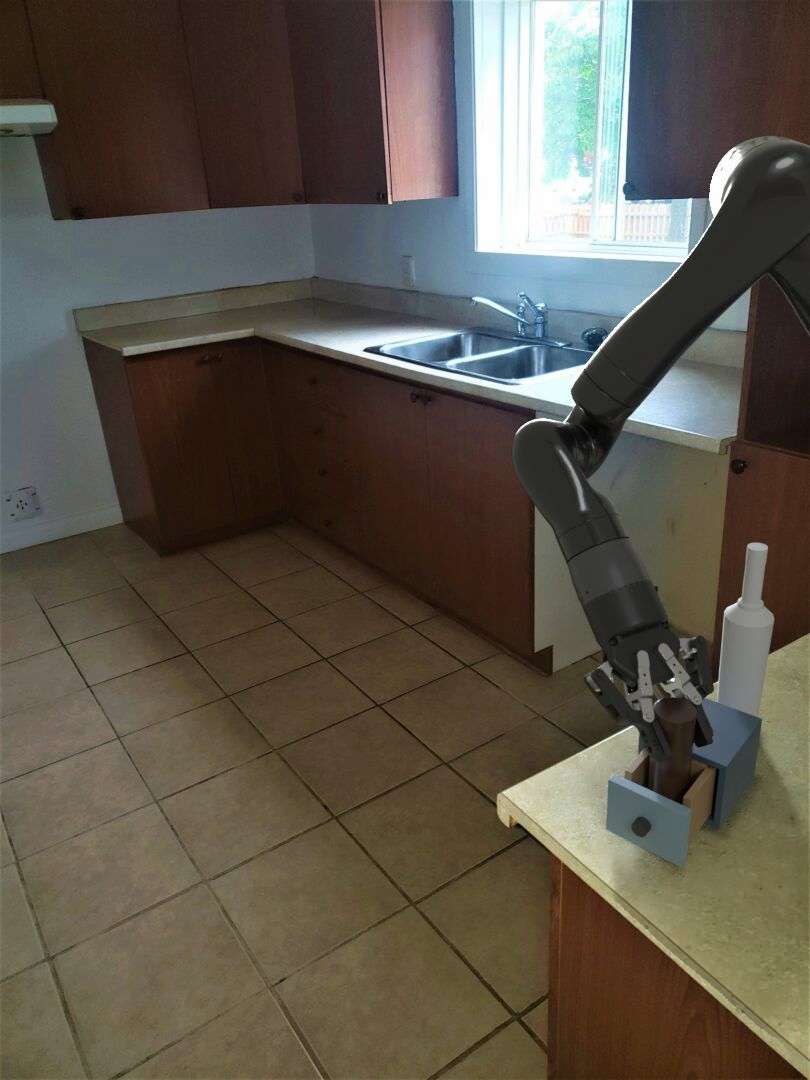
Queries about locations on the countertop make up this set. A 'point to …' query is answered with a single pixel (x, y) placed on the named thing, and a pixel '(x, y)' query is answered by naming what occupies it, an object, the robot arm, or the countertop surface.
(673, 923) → the countertop surface
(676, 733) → the pepper mill
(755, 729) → the cabinet
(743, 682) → the bottle
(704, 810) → the drawer
